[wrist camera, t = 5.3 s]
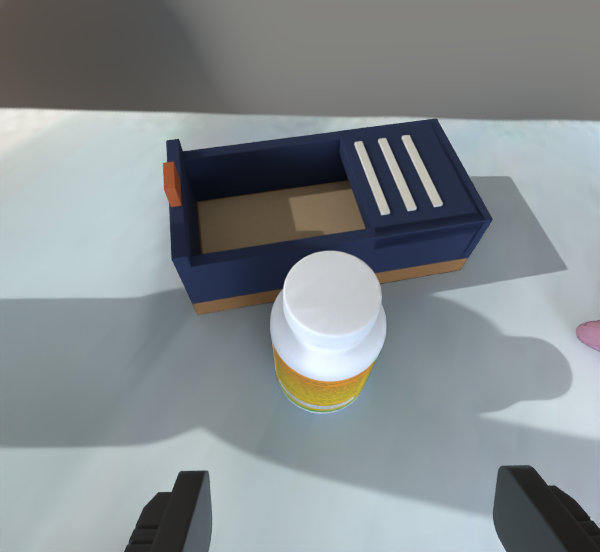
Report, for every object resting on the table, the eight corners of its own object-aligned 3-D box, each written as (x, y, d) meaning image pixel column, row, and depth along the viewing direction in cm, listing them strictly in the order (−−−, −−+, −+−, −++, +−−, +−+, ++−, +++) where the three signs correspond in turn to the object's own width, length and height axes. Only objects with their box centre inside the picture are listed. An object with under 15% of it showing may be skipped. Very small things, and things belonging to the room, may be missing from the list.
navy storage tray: (197, 315, 27) (163, 243, 20) (189, 208, 31) (159, 120, 24) (460, 270, 29) (511, 190, 22) (416, 176, 33) (447, 86, 26)
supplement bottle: (374, 409, 24) (416, 346, 15) (280, 420, 23) (270, 362, 15) (356, 323, 26) (384, 230, 18) (272, 332, 26) (260, 241, 18)
